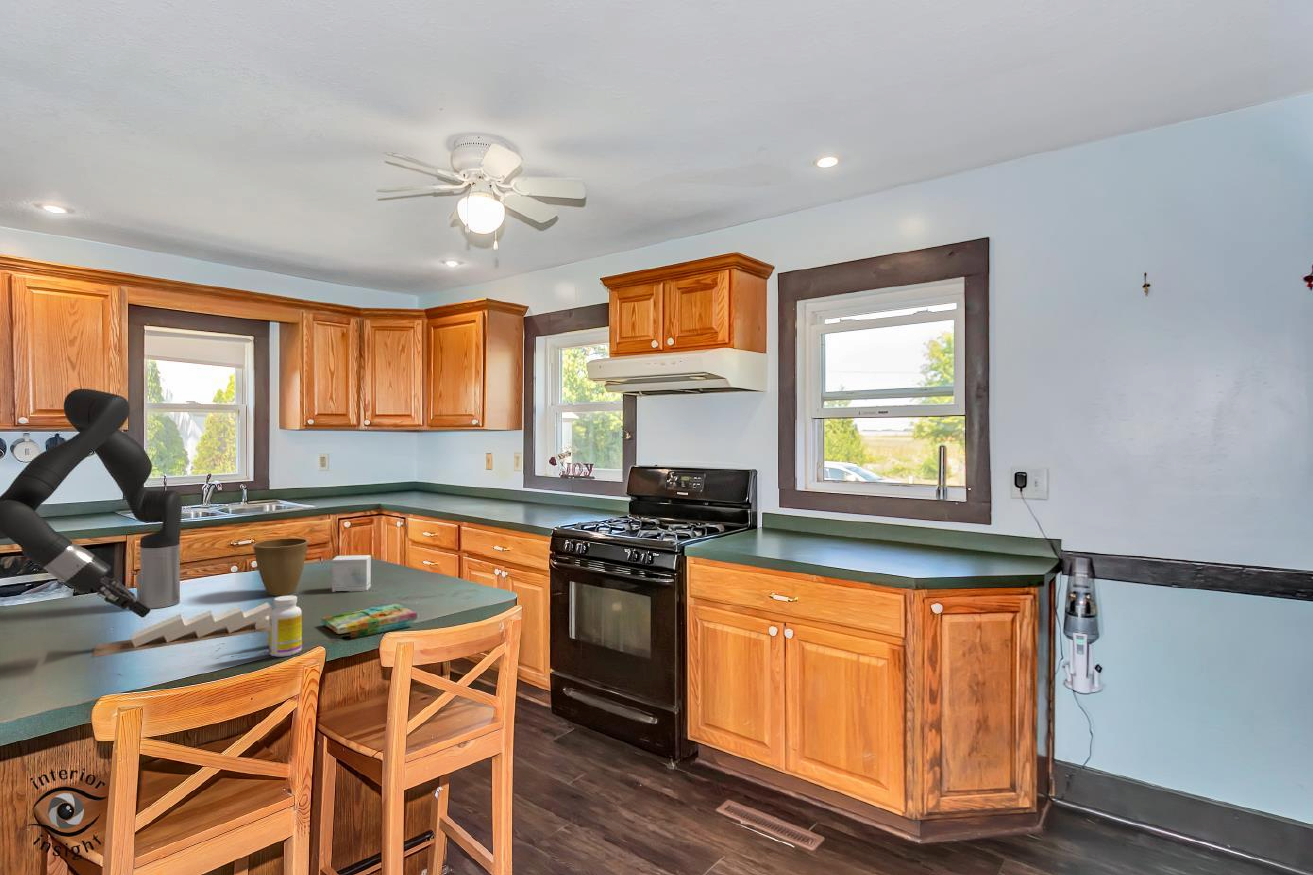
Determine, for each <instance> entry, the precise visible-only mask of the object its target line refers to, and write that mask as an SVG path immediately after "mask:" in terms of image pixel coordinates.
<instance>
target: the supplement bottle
mask: <svg viewBox="0 0 1313 875" xmlns="http://www.w3.org/2000/svg"><path fill="white" fill-rule="evenodd" d="M297 602H298V596H296V595H282V596H276V597H275V598H273V604H274V609H271V610H272V611H271V612H270V614H269V630H268V631H269V632H268V633H269V635H268V636H269V637H268V640H269V641H268V642H269V643H268V645H269V648H268V650H269V655H271V656H272V657H279V658H281V657H289V656H293V655H296V654H298V653H300V652H301V650H302V648H303V641H302V640H303V634H302V633H303V631H302V630H303V629H302V628H303V625H302V624H303V623H302V620H303V619H302V618H303V616H302V614H303V613H302V609H301V608H300V607H299V606H297Z"/></svg>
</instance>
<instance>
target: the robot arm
mask: <svg viewBox="0 0 1313 875" xmlns="http://www.w3.org/2000/svg"><path fill="white" fill-rule="evenodd" d="M63 401H64V402H63V412H64V415H65V418H66V419H67V421H68V422H69V423H70V425H72V427H73V428H74V429H75V430H76V431H77V432H78V433H77V434H76V435H74V436H73V437H71V438H69V439H66V440H65V441H63V442H61V443H59V444H58V445H55V446H52V447H51V448H48V449H47V450H45V451H43V452H42V453H40V454H38V455H36V457H34V458H33V459H32V460H31V461H30V462H29V463H28V464H27V465H26V466H25V467H24V468H23V469H22V471H21V472H20V473H18V475H17V476H16V478H15V479H14V480H13V481H12V483H11V484H10V485H9V487H8V488H7V489H6V490H5V491H4V492H3V493H2V494H1V495H0V540H6V539H9V540H11V541H13V542H14V543H15V544H16V545H18V546H19V547H20V548H21V553H22V555H24V556H25V558H27V559H29V560H31V561H32V562H33V563H35V564H37V565H38V566H40V567H41V568H43V569H44V570H45V571H46V572H48V573H49V574H50V575H51V576H52V577H53V578H55V579H57V580H58V581H60V582H62V583H64V584H65V585H66V586H68V587H69V588H71V589H72V590H74V591H76V592H77V593H79V594H85V593H86V592H88V591H89V590H90V589H94V590H95V591H96V592H97V593H96V595H97V596H99V597H100V598H101V599H103V600H104V601H105V602H106V603H109V604H111V605H112V606H113V605H114V606H116V607H118V608H120V609H122V610H130V611H131V612H132V613H134V614H136V615H137V616H139V617H140V618H145V617H146V616H148V614H150V613H151V609H160V608H168V607H171V606H172V607H173V606H175V605H177V604H180V603H181V600H180V599H181V589H180V588H181V581H180V580H181V565H180V564H181V562H180V560H181V553H180V551H181V547H180V546H181V545H180V544H181V543H180V541H181V531H182V530H181V529H182V528H181V527H182V511H183V502H182V496H181V493H180V492H179V491H178V490H173V489H172V490H169V489H168V490H167V489H164V490H163V489H162V490H161V489H160V490H158V489H157V490H151V489H150V490H149V489H146V487H145V486H144V485H145V483H146V482H147V480H148V479H149V477H150V475H151V473H152V469H153V463H152V460H151V459H150V457H149V455H148V453H147V452H146V451H145V449H144V447H143V446H142V445H141V444H140V443H139V441H136V440H135V439H134V438H132V437H131V436H129V435H128V434H127V433H125V432H124V431H123V430H121V429H120V428H121V427H122V426H123V425H124V424H125V423H126V421H127V420H128V418H129V415H130V407H131V406H130V402H128V400H127V398H126V397H124V396H122V395H118V394H115V393H111V392H106V391H101V390H98V389H91V388H77V389H74V390H71V391H70V392H69V393H68V394H67V395H66V396H65V398H64V400H63ZM93 452H94V453H95V454H96V455H97V457H98V458H99V460H100V461H101V463H102V464H103V466H104V468H105V469H106V470H107V472H108V473H109V475H110V476H111V477H112V479H113V480H114V482H115V483H116V485H117V486H118V488H119V489H120V491H121V493H122V494H123V496H124V498H125V500H126V502H127V505H128V507H129V509H130V511H131V513H132V514H133V517H134V518H135V519H136V520H137V521H138V522H141V523H162V526H161V528H159V530H157V531H155V532H152V533H148V534H146V535H144V536H141V538H140V542H139V561H140V562H139V563H140V564H139V568H140V569H139V572H138V573H137V574H136V595H135V593H133V592H132V591H130V589H129V588H127V587H126V586H125V585H124V584H123V583H121V581H119V580H118V579H117V578H115V577H112V578H110V577H108V576H106V575H108V573H109V572H110V571H111V569H112V566H111V565H110V564H108V563H106V562H105V561H103V560H102V559H101V558H99V557H98V556H96V555H95V554H93V553H92V552H91V551H89V550H87V549H86V548H84V547H82V546H81V545H78V544H76V543H75V542H73V541H71V540H70V539H69V538H67V537H66V536H64V535H62V534H61V533H59V532H58V531H56V530H55V529H54V528H53V527H51V526H50V524H49V523H48V522H47V521H46V520H45V519H44V518H43V517H42V516H41V515H40V514H39V513H38V512H37V510H38V508H39V507H40V506H41V505H42V504H43V503H44V502H45V501H47V500H48V499H49V498H50V497H51V496H53V494H54V493H55V491H57V489H58V488H59V486H61V484H62V483H63V482H64V480H65V479H66V478H68V475H69V474H70V473H71V472H72V471H73V470H74V469H76V467H77V466H78V465H79V464H81V462H83V461H84V460H85V459H86V458H88V457H89V456H90V455H91V454H92V453H93Z"/></svg>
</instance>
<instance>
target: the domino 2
mask: <svg viewBox="0 0 1313 875" xmlns="http://www.w3.org/2000/svg"><path fill="white" fill-rule="evenodd" d="M214 617H215V616H214V614H213V612H212V610H211V609H209V610H207V611H205V612H202V613H200V614H198V615H196V616H192V617H190V618H188V619H186V620H184V621H185V626H184V627H181V628H179V629H177V630H174V631H172V632H170V633H168V634H165V635H164V637H165V639H166V641H167V643H168V642H170V641H172V640H174V639H177V638H179V637H181V636H184V635H186V634H188V633H191V632H193V631H195V630H198V629H200V628H202V627H205V626H207V625H209V624H212V623H214V622H215V619H214Z"/></svg>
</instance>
